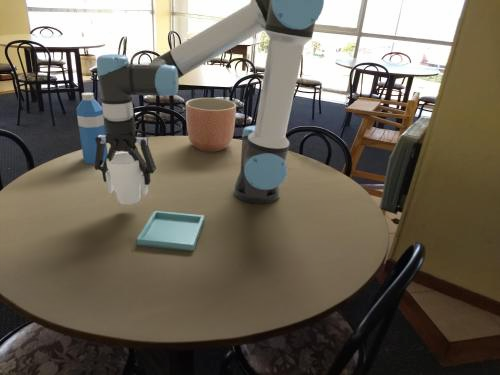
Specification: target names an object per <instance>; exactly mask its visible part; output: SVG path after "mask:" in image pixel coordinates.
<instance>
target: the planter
mask: <svg viewBox="0 0 500 375" xmlns="http://www.w3.org/2000/svg"><path fill="white" fill-rule="evenodd" d="M236 115H237V104H236V103H235V102H234V101H232V100H228V99H225V98H224V99H223V98H217V97H198V98H192V99H189V100H187V101H186V102H185V119H186V130H187V137H188V140H189V142H190V143H191V145H192V146H193V147H195V148H196V149H197V150H199V151H203V152H219V151H223V150H225V149H226V148H227V147H228V146H229V145H230V144H231V142H232V141H233V137H234V133H235V125H236Z"/></svg>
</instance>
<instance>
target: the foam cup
mask: <svg viewBox="0 0 500 375" xmlns="http://www.w3.org/2000/svg"><path fill="white" fill-rule="evenodd" d="M140 155H141V156H142V157H143V154H140ZM106 163H107V168H108V170H109V173H110V176H111V179H112V183H113V186H114V189H115V190H114V192H115V196H116V199H117V202H118V203H119V204H122V205H132V204H133V205H134V204H136V203H138V202H139V201H141V193H142V184H141V174H142V171H141V170H140V168H139V161H137V160H136V161H135V160H134V159H133V157H132V156H131V155H130V154H129V153H128V152H124V151H118V152H116V153H115V155H114V157H113V159H112V160H111V161H109V159H106Z"/></svg>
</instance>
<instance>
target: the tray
mask: <svg viewBox="0 0 500 375" xmlns="http://www.w3.org/2000/svg"><path fill="white" fill-rule="evenodd" d="M204 223H205V215H203V214H193V213H191V214H190V213H185V212H184V213H183V212H172V211H163V210H162V211H161V210H154V211H153V212H152V214H151V215H150V217H149V219H148V220H147V222H146V224H145V225H144V227H143V228H142V229H141V232H140V233H139V235H138V236H137V238H136V245H137V246H139V247H146V248H147V247H148V248H158V249H167V250H175V251H176V250H178V251H188V252H194V250H195V248H196V245H197V243H198V241H199V240H198V239H199V237H200V234H201V233H202V229H203V227H204Z"/></svg>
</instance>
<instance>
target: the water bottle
mask: <svg viewBox="0 0 500 375" xmlns="http://www.w3.org/2000/svg"><path fill="white" fill-rule="evenodd" d="M76 116H77V117H76V118H77V124H78V132H79V137H80V144H81V151H82V156H83V157H82V158H83V162H84V163H87V164H90V165H93V164H94V165H95V158H96V149H97V144H96V140H95V138H96V137H97V136H99V135H100V134H102V135H106V129H105V122H104V119H105V117H104V116H103V107H102V105H100V103H99V102H98V101H97V100H96V99H95V95H94V92H82V93H81V100H80V102H79V104H78V105H77V107H76ZM107 155H108V147H107V141H106V142H105V148H104V156H103V163H104V162H105V159H106V157H107Z"/></svg>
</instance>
